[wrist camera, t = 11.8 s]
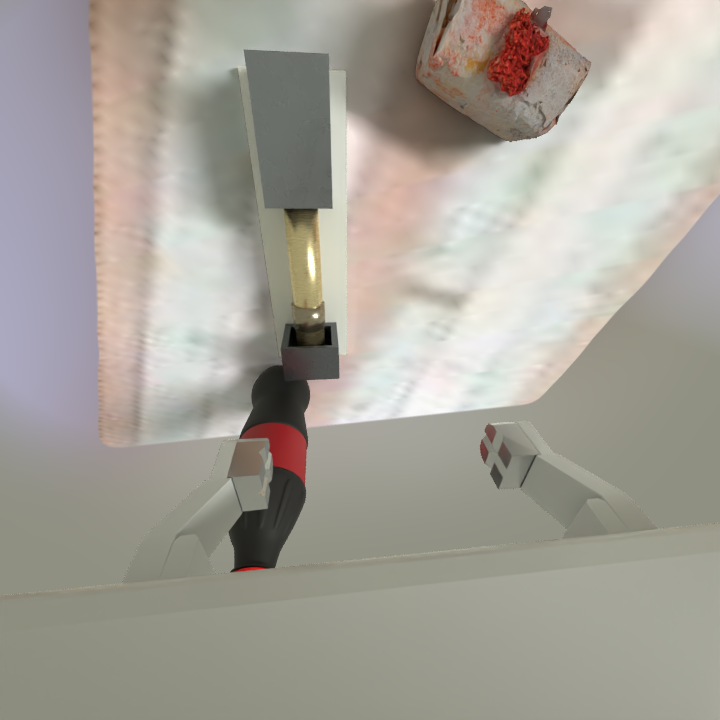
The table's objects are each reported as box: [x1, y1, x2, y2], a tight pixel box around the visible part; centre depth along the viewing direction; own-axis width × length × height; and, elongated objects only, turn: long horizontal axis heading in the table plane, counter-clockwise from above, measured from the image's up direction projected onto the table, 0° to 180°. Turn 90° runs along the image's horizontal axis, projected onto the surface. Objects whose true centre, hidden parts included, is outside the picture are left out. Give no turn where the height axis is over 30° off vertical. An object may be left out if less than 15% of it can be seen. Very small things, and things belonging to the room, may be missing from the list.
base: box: [237, 66, 347, 358], centre depth 39 cm, size 32×10×1 cm, turn 179°
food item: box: [415, 0, 591, 142], centre depth 28 cm, size 14×8×10 cm, turn 66°
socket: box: [281, 322, 339, 381], centre depth 43 cm, size 5×7×7 cm
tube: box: [283, 208, 325, 347], centre depth 38 cm, size 20×4×4 cm, turn 179°
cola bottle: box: [229, 366, 310, 573], centre depth 38 cm, size 8×8×30 cm
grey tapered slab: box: [244, 50, 333, 209], centre depth 30 cm, size 11×6×6 cm, turn 179°
